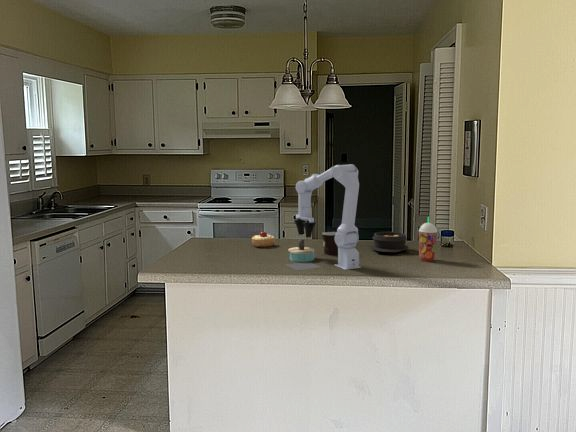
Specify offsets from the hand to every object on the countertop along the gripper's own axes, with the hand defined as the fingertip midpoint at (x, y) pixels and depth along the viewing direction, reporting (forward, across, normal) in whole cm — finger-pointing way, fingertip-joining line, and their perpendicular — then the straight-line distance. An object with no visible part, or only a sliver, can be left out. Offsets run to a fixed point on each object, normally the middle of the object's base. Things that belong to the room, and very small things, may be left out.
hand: (304, 235), depth 255 cm
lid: (+6, +3, -3) cm, 8 cm away
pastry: (+11, -36, -6) cm, 38 cm away
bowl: (+10, +3, -3) cm, 11 cm away
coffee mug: (+11, -3, +16) cm, 19 cm away
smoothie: (+11, +30, +47) cm, 57 cm away
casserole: (+11, +4, +45) cm, 46 cm away
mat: (+10, +16, -9) cm, 21 cm away
